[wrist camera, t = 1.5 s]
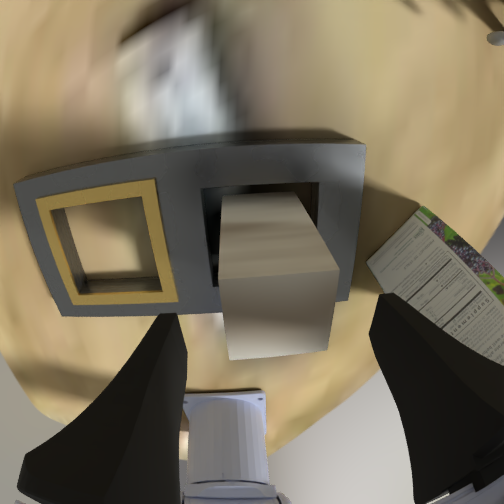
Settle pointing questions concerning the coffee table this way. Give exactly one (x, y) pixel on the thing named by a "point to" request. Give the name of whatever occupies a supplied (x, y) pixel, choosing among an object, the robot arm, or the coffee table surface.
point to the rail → (185, 217)
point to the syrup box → (444, 282)
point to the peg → (274, 277)
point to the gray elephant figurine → (496, 38)
